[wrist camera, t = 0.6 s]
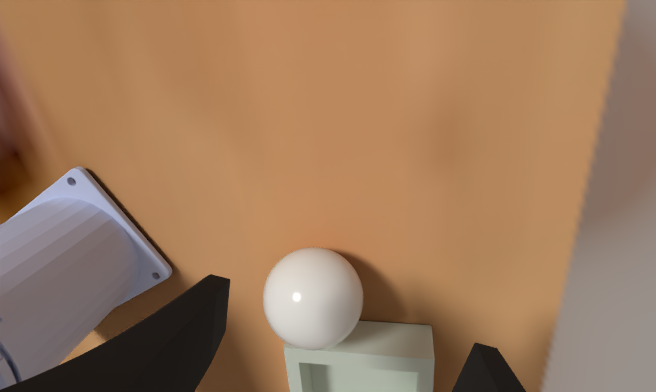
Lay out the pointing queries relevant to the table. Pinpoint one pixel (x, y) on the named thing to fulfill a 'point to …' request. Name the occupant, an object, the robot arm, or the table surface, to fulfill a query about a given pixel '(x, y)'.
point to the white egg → (313, 298)
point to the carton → (367, 361)
